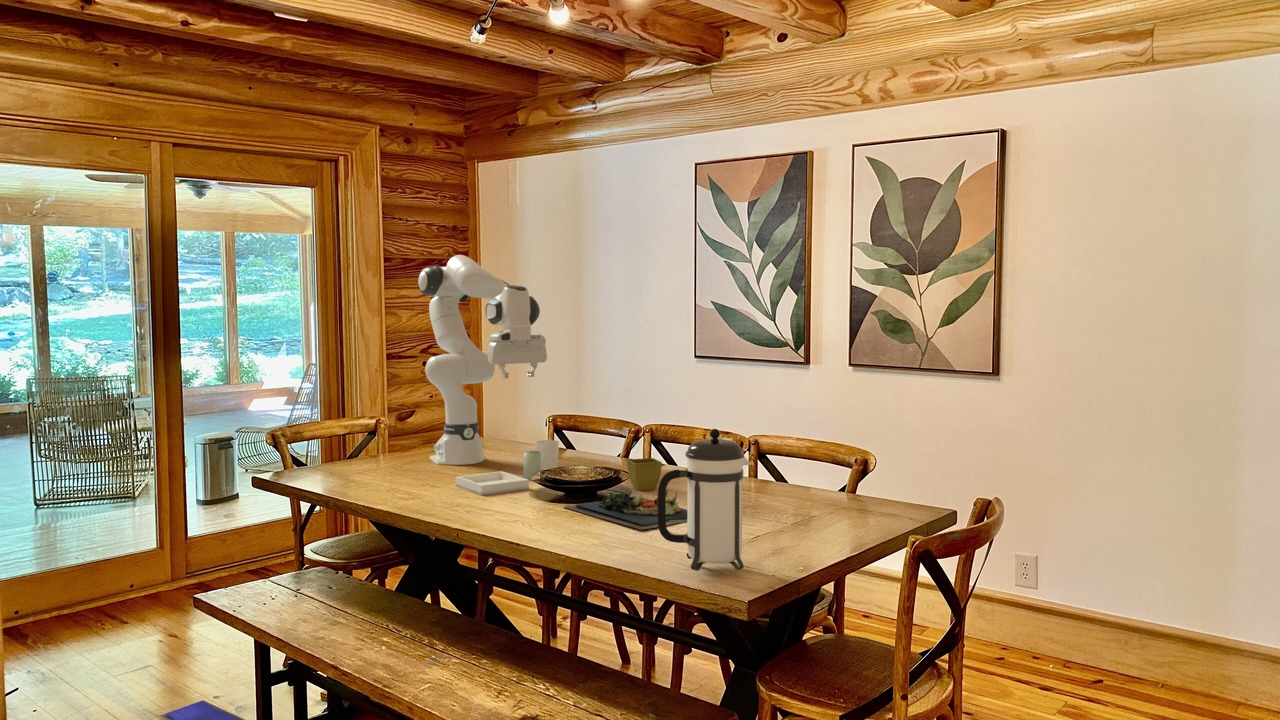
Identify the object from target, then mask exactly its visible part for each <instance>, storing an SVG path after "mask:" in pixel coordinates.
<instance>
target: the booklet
mask: <svg viewBox="0 0 1280 720" xmlns="http://www.w3.org/2000/svg"><path fill="white" fill-rule="evenodd" d="M159 717H161V718H162V719H165V720H245V718H242V717H240V716H238V715H235V714H233V713H232V712H229V711H227V710H225V709H224V708H221V707H219V706H216V705H215V704H212V703H209V702H208V701H207V700H200V701H199V700H198V701H197V702H195V703H191V704H189V705H185V706H183V707H180V708H177V709H175V710H171V711H168V712H166V713H163V714H159Z"/></svg>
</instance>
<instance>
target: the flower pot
mask: <svg viewBox="0 0 1280 720" xmlns="http://www.w3.org/2000/svg"><path fill="white" fill-rule="evenodd" d="M626 462H627V471H628V477H629V480H630V483H631V484H632V486H633V488H634V489H636V490H638V491H639V492H642V491H654V490H656V488H657V486H659V483H660V480H661V473H662V463H663V462H662V461H660V460H657V459H656V458H654V457H649V458H647V457H645V458H632V459H631V458H629V459H626Z"/></svg>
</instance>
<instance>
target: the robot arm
mask: <svg viewBox="0 0 1280 720" xmlns="http://www.w3.org/2000/svg"><path fill="white" fill-rule="evenodd" d="M417 285H418V286H417V287H418V289H419V291H420V293H421V294H423V295H425V296H428V297H433V298H432V299H431V300H430V301H429V305H428V309H429V311H428V313H429V319H430V323H431V327H432V328H431V329H432V330H433V334H434V338H435V340H436V341H435V342H436V344H437V346H438V347H439V349H441V350H443V351H445V352H447V353H443V354H438V355H435V356H431V357H429V359H428V360H427V362H426V364H425V366H424V367H425V369H424V372H425V373H424V374H425V376H426V378H427V380H428V381H429V382H430V383H431V384H432V385H434V386H435V387H436V388H437V389H438V390H439V393H440V394H441V396H442V399H443V402H444V409H445V410H444V411H445V423H444V424H443V425H444V426H443V434H442V436H441V437H440V438H439V440H437V442H436V444H433V450H434V452H435V454H433V455H430V456H429V459H430V460H431V461H432V462H433V463H435V464H436V465H438V466H439V465H449V466H450V465H452V466H453V465H454V466H457V465H458V466H459V465H461V466H462V465H464V466H465V465H474V464H479V463H481V462H483V461H486V460H487V456H484V450H483V438H482V437H481V435H480V434H479V429H480V426H479V422H478V403H477V401H476V399H475V397H473V396H471V395H469V394H467V393H465V392H464V387H463V385H469V384H471V385H472V384H481V383H484V382H487V381H490V380H492V378H493V377H494V376H495V375H494V374H495V371H496V365H498V369H499V370H500V373H501V377H502V379H509V375H510V374H509V372H506V369H505V368H506V365H513V364H529V365H530V370H529V371H527V377H529V378H532V377H533V378H534V377H535V371H536V370H537V367H538V363H546V361H547V360H548V353H547V348H546V346H547V345H546V344H547V343H546V340H547V339H546V338H545V336H543V335H542V334H532V329H531V328H532V325H534V324H535V322H537V320H538V319H539V316H540V311H541V310H540V309H541V308H540V305H539V304H538V302H537V300H536V299H535V298H534V297H533V296H531V295H530V294H529V290H528V289H527V287H525V286H523V285H510V284H509V283H508V282H506V281H504V280H502V279H500V278H499V277H497V276H495V275H494V274H492V273H491V272H489V271H487V270H485V269H484V268H483V267H482V266H481V265H479V263H477V262H476V261H475V260H474V259H472V258H471V257H469V256H466V255H464V254H456V255H453V256H452V257H451V258H449V260H448V262H447V263H446V266H439V265H435V266H427V267H425V268H424V267H423V268H422V269H421V271H420V272H419V275H418V277H417ZM469 298H476V299H477V298H478V299H489V300H488V301H487V303H486V304H485V317H486V319H487V320H488V321H489V323H490V324H492V325H495V326H503V329H502V330H500V331H497V332H494V333H492V334H490V335H489V341H491V342H490V343H488V348H487V353H485V352H484V351H482V350H481V349H480V348H478V347H477V346H476V345H475V344H474V343H473V341H472V340H471V338H470V337H469V336H468V333H467V331H466V328H465V324H464V322H463V317H462V315H461V313H460V312H461V311H460V309H459V303H466V302H467V300H468V299H469Z"/></svg>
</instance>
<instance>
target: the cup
mask: <svg viewBox="0 0 1280 720" xmlns="http://www.w3.org/2000/svg"><path fill="white" fill-rule="evenodd" d="M522 458H523V478H524V479H528V482H529V481H531V478H530V477H531V476H532V475H533V474H535V473H538V472H541V473H542V471H541V452H540V451H536V450H526V451H523V457H522Z"/></svg>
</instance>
